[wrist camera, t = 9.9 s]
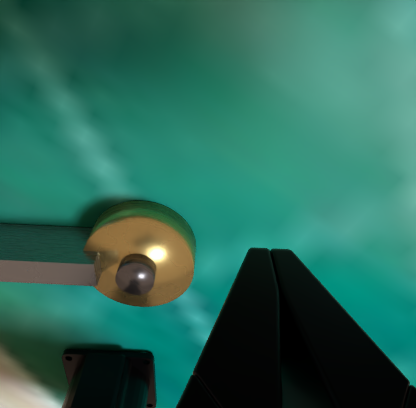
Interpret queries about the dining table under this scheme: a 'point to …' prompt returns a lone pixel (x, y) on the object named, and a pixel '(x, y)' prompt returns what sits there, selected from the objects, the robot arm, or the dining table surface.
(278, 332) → the robot arm
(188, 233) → the gold rounded dome
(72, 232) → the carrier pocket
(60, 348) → the dining table surface
